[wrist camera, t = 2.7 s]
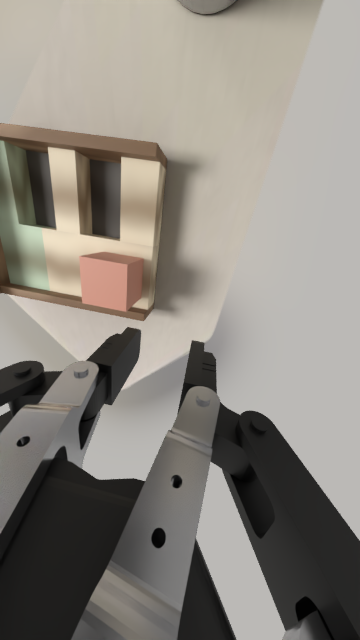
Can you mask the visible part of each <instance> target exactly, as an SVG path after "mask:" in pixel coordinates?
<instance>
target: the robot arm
mask: <svg viewBox="0 0 360 640" xmlns="http://www.w3.org/2000/svg"><path fill="white" fill-rule="evenodd" d="M178 1H179V2H180V3H181V4H182V5H183V6H184V7H186V8H187V9H189V10H191V11H192V12H196V13H200V14H211V13H216V12H218V11H221V10H223V9H226V8H227V7H228V6H230V5H231V4H233V3H234V2H235V1H237V0H178ZM140 340H141V330H139V329H134V328H130V327H127V328H126V329H125V330H124V332H123V333H122V334H115V335H113V336H111V337H109V338H108V339H107V340H106V341H105V342H104V343H103V344H102V345H101V346H100V347H99V348H98V349H97V350H96V351H95V352H94V353H93V354H92V355H91V356H90V357H89V358H88V359H87V360H86V361H79V362H75V363H73V364H71V365H69V366H67V367H66V368H65V369H64V371H60V372H59V371H58V372H57V371H52V372H44V367H43V365H42V364H41V363H40V362H37V361H23V362H19V363H16V364H13V365H11V366H8V367H6V368H3V369H1V370H0V406H2V405H4V404H6V403H8V404H9V407H10V411H9V412H7V413H5V414H3V415H1V416H0V640H236V637H235V635H234V632H233V630H232V627H231V625H230V622H229V620H228V617H227V615H226V612H225V610H224V607H223V605H222V602H221V600H220V597H219V595H218V592H217V590H216V587H215V585H214V582H213V580H212V577H211V575H210V572H209V570H208V567H207V565H206V562H205V560H204V557H203V555H202V552H201V550H200V547H199V545H198V542H197V540H196V533H197V528H198V523H199V518H200V512H201V507H202V502H203V497H204V492H205V487H206V481H207V476H208V471H209V466H210V461H211V462H212V463H214V464H216V465H217V466H219V467H220V468H222V470H223V474H224V476H225V479H226V481H227V484H228V486H229V489H230V492H231V494H232V496H233V499H234V502H235V504H236V507H237V509H238V512H239V514H240V517H241V519H242V521H243V524H244V527H245V529H246V532H247V534H248V537H249V540H250V542H251V544H252V547H253V550H254V552H255V554H256V557H257V560H258V562H259V565H260V567H261V570H262V572H263V575H264V577H265V580H266V582H267V585H268V587H269V590H270V592H271V595H272V597H273V600H274V603H275V605H276V607H277V610H278V613H279V615H280V618H281V620H282V623H283V625H284V628H285V630H286V632H285V634H284V637H283V639H282V640H360V541H359V539H358V538H357V537H356V535H355V534H354V533H353V531H352V530H351V529H350V527H349V526H348V524H347V523H346V522H345V520H344V519H343V518H342V516H341V515H340V514H339V512H338V511H337V509H336V508H335V507H334V505H333V504H332V503H331V501H330V500H329V499H328V497H327V496H326V494H325V493H324V492H323V491H322V489H321V488H320V486H319V485H318V484H317V482H316V481H315V480H314V478H313V477H312V475H311V474H310V473H309V471H308V470H307V469H306V468H305V466H304V465H303V463H302V462H301V460H300V459H299V458H298V456H297V455H296V454H295V452H294V451H293V450H292V448H291V447H290V446H289V444H288V443H287V441H286V440H285V439H284V437H283V436H282V435H281V433H280V432H279V431H278V429H277V428H276V426H275V425H274V424H273V423H272V421H271V420H270V419H268V418H267V417H266V416H264V415H263V414H261V413H259V412H255V411H245V412H243V413H242V414H241V415H239V414H237V413H235V412H233V411H231V410H229V409H227V408H226V407H225V406H224V405H223V404H222V403H221V402H220V399H219V397H218V395H217V389H216V359H215V357H214V356H213V354H212V353H208V352H204V343H203V342H198V341H193V340H192V343H191V348H190V353H189V358H188V363H187V368H186V374H185V379H184V384H183V389H182V394H181V400H180V404H179V409H178V415H177V418H176V420H175V423H174V425H173V427H172V429H171V430H169V431H168V432H167V434H166V436H165V438H164V441H163V443H162V445H161V447H160V449H159V452H158V454H157V456H156V458H155V461H154V463H153V465H152V467H151V470H150V472H149V474H148V477H147V479H146V481H142V480H137V479H134V478H133V479H111V480H98V479H96V478H94V477H93V476H91V475H90V474H88V473H87V472H86V471H84V470H83V469H82V464H83V459H84V456H85V453H86V450H87V447H88V445H89V443H90V440H91V437H92V435H93V432H94V430H95V427H96V425H97V422H98V419H99V416H100V409H101V408H102V406H103V405H104V404H108V405H112V404H113V402H114V400H115V399H116V397H117V395H118V393H119V392H120V390H121V388H122V387H123V385H124V383H125V382H126V380H127V378H128V376H129V375H130V373H131V371H132V370H133V368H134V366H135V365H136V363H137V361H138V358H139V353H140Z"/></svg>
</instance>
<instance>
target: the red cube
mask: <svg viewBox="0 0 360 640" xmlns="http://www.w3.org/2000/svg"><path fill="white" fill-rule="evenodd" d="M79 262H80V277H81V292H82V303H84V304H89V305H94V306H99V307H104V308H109V309H114V310H119V311H125V312H126V311H127V310H129V309H130V308H131V307H132V306H133V305H134V304H135V303H136V302H137V301H138V300H139V299H141V293H142V278H143V263H144V258H138V257H132V256H127V255H121V254H115V253H110V252H99V253H93V254H88V255H82V256H79Z"/></svg>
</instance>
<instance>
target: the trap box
mask: <svg viewBox="0 0 360 640" xmlns="http://www.w3.org/2000/svg"><path fill="white" fill-rule="evenodd" d="M166 168H167V158H166V157H165V155H164V153H163V152H162V150H161V149H160V147H159V145H158V144H157V143H153V142H145V141H137V140H130V139H122V138H114V137H106V136H98V135H90V134H83V133H75V132H67V131H59V130H51V129H43V128H35V127H28V126H20V125H12V124H4V123H0V293H5V294H10V295H15V296H20V297H25V298H30V299H35V300H40V301H45V302H50V303H55V304H60V305H65V306H70V307H75V308H80V309H85V310H90V311H95V312H100V313H105V314H110V315H115V316H120V317H125V318H130V319H135V320H140V321H144V320H145V319H146V318H147V316H148V315H149V314H150V312H151V311H152V310H153V306H154V296H155V285H156V274H157V264H158V253H159V242H160V232H161V221H162V210H163V200H164V189H165V179H166ZM99 252H110V253H115V254H121V255H127V256H132V257H138V258H144V263H143V278H142V293H141V299H139V300H138V301H137V302H136V303H135V304H134V305H133V306H132V307H131V308H130V309H129V310H127V311H126V312H125V311H119V310H114V309H109V308H104V307H99V306H94V305H89V304H84V303H82V292H81V277H80V262H79V256H82V255H88V254H93V253H99Z"/></svg>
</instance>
